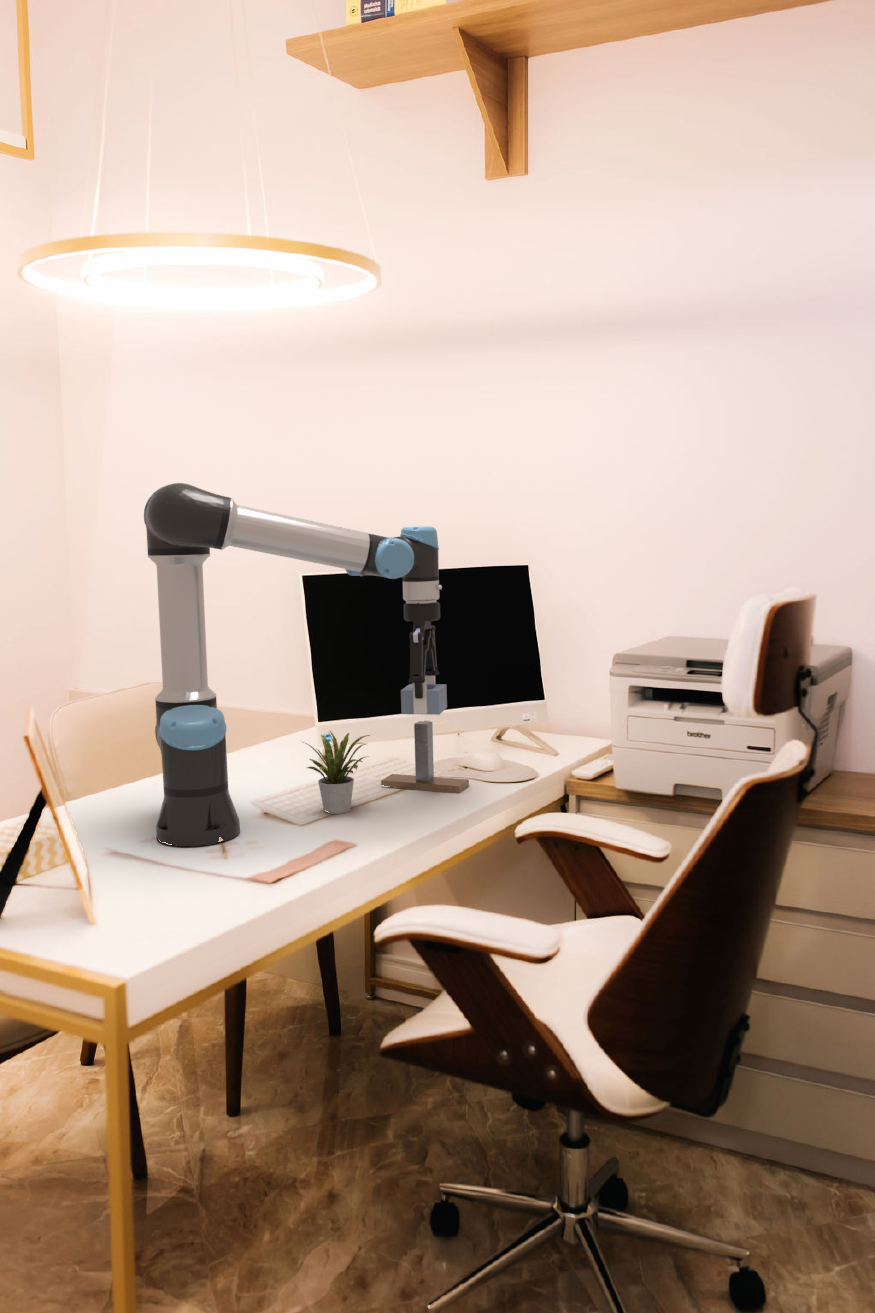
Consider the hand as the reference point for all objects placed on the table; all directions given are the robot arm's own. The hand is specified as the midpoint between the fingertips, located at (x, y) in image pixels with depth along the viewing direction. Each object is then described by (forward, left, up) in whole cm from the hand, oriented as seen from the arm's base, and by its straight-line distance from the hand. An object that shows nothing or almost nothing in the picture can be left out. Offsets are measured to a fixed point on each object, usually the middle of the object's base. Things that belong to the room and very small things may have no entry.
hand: (425, 709), depth 219 cm
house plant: (-15, +15, -18) cm, 28 cm away
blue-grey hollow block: (0, 0, 0) cm, 0 cm away
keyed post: (+4, +1, -18) cm, 18 cm away
